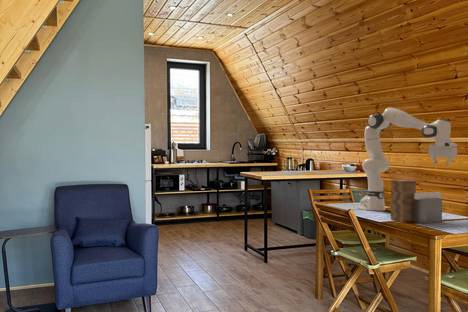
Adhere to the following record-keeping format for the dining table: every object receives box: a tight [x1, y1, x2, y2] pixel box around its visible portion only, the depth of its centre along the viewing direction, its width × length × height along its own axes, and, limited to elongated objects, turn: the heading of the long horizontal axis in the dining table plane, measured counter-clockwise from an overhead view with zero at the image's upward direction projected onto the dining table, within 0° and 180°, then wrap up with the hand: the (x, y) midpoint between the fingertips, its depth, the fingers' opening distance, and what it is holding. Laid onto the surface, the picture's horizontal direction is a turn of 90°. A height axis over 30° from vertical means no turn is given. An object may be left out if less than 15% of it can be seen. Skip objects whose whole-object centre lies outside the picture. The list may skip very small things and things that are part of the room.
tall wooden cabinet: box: [389, 179, 417, 223], centre depth 286 cm, size 11×12×26 cm
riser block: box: [412, 197, 443, 225], centre depth 279 cm, size 10×14×15 cm
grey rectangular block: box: [414, 191, 442, 200], centre depth 279 cm, size 4×20×4 cm, turn 116°
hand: (441, 164), depth 293 cm, fingers open, 8 cm apart
